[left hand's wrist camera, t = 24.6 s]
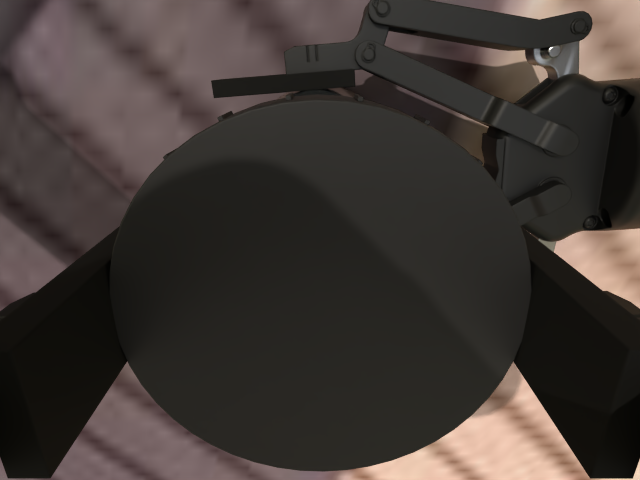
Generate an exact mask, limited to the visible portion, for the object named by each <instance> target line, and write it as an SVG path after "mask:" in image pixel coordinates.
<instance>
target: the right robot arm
mask: <svg viewBox="0 0 640 480" xmlns="http://www.w3.org/2000/svg"><path fill="white" fill-rule="evenodd" d="M591 28H592V18H591V17H590V15H589V14H588V13H586V12H584V11H578V12H573V13H569V14H564V15H559V16H555V17H550V18H545V19H541V20H538V19H532V18H526V17H521V16H515V15H509V14H504V13H498V12H492V11H487V10H481V9H475V8H470V7H464V6H458V5H452V4H447V3H441V2H435V1H430V0H370V2H369V3H368V4H367V6H366V7H365V10H364V14H363V18H362V21H361V25H360V29H359V32H358V34H357V36H356V37H355V38H354V39H353V40H351V41H349V42H342V43H330V44H318V45H306V46H294V47H293V48H291V49H289V50H287V51H285V52H284V57H285V67H286V74H282V75H269V76H257V77H245V78H233V79H221V80H213V81H211V82H212V89H213V95H214V98H220V97H232V96H245V95H257V94H269V93H282V92H294V91H307V90H319V89H331V88H344V87H355V71H354V70H359V69H362V70H365V71H367V72H369V73H371V74H373V75H376V76H378V77H380V78H382V79H385V80H387V81H389V82H391V83H393V84H396V85H398V86H400V87H402V88H405V89H407V90H409V91H411V92H413V93H416V94H418V95H420V96H422V97H425V98H427V99H429V100H431V101H434V102H436V103H438V104H440V105H442V106H445V107H447V108H449V109H451V110H454V111H456V112H458V113H460V114H462V115H465V116H467V117H468V118H471V119H473V120H475V121H477V122H479V123H482V124H484V125H486V126H488V127H489V128H488V130H487V133H483V135H482V151H483V156H484V161H485V163H484V166H483V167H484V168H485V169H486V170H487V171H488V173H489V174H490V175H491V176H492V178H493V179H494V180H495V182H496V183H497V184H498V185H499V187H500V188H501V189H502V191H503V192H504V194H505V196H506V198H507V199H508V201H509V203H510V205H511V207H512V208H513V210H514V212H515V214H516V216H517V218H518V221H519V224H520V226H521V227H522V228H524V229H525V230H526V231H528V232H529V233H531V235H532V236H534V237H535V238H536V239H538V240H539V241H540V242H541V243H543V244H544V245H545V246H546V247H548V248H549V249H550V250H551V251H553V252H554V248H555V244H556V241H560V240H562V239H564V238H566V237H568V236H570V235H572V234H574V233H577V232H580V231H609V230H623V229H637V228H640V78H635V79H622V80H610V81H593V80H591V79H589V78H587V77H585V76H583V75H581V74H579V41H580V40H582V39H584V38H585V37H586V36H587V35H588V34H589V32H590V31H591ZM388 31H393V32H398V33H404V34H410V35H416V36H422V37H428V38H434V39H439V40H445V41H451V42H457V43H463V44H469V45H475V46H480V47H486V48H492V49H498V50H507V51H515V50H525V56H526V59H527V61H528V62H529V63H530V64H532V65H537V66H542V67H544V68H545V69H546V71H547V73H548V78H547V79H545V80H544V81H543V82H541V83H540V84H539V85H537V86H536V87H535V88H534V89H532V90H531V91H530V92H528V93H527V94H526V95H525V96H523V97H522V98H521V99H519V100H518V101H517V102H516V103H514V104H512V103H510V102H508V101H506V100H503V99H500V98H498V97H495V96H493V95H490V94H488V93H486V92H484V91H482V90H479V89H477V88H475V87H473V86H471V85H469V84H466V83H464V82H462V81H460V80H458V79H456V78H453V77H451V76H449V75H447V74H445V73H443V72H440V71H438V70H436V69H434V68H432V67H430V66H427V65H425V64H423V63H421V62H419V61H417V60H414V59H412V58H410V57H408V56H406V55H404V54H401V53H399V52H397V51H395V50H393V49H391V48H388V47H386V46H384V44H385V40H386V37H387V34H388Z"/></svg>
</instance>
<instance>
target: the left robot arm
mask: <svg viewBox="0 0 640 480" xmlns="http://www.w3.org/2000/svg"><path fill="white" fill-rule="evenodd" d="M520 227H521V226H520ZM119 228H120V226H119V227H118V228H117V229H116V230H114V231H113V232H112V233H111V234H109V235H108V236H107V237H106V238H104V239H103V240H102V241H100V242H99V243H98V244H97V245H95V246H94V247H93V248H92V249H90V250H89V251H88V252H87V253H85V254H84V255H83V256H81V257H80V258H79V259H78V260H76V261H75V262H74V263H73V264H71V265H70V266H69V267H68V268H66V269H65V270H64V271H63V272H61V273H60V274H59V275H57V276H56V277H55V278H54V279H52V280H51V281H50V282H49V283H47V284H46V285H45V286H44V287H42V288H41V289H40V290H39V291H37V292H36V293H32V294H30V295H28V296H26V297H23V298H21V299H19V300H17V301H15V302H13V303H11V304H9V305H8V306H7V307H5V308H4V309H3V310H1V311H0V457H1V460H2V463H3V466H4V469H5V471H6V474H7V477H8V478H51V476H52V475H53V473H54V472H55V470H56V469H57V467H58V466H59V464H60V463H61V461H62V460H63V458H64V457H65V455H66V454H67V452H68V451H69V449H70V447H71V446H72V444H73V443H74V441H75V440H76V438H77V437H78V435H79V434H80V432H81V431H82V429H83V428H84V426H85V425H86V423H87V422H88V420H89V419H90V417H91V416H92V414H93V412H94V411H95V409H96V408H97V406H98V405H99V403H100V402H101V400H102V399H103V397H104V396H105V394H106V393H107V391H108V390H109V388H110V387H111V385H112V384H113V382H114V381H115V379H116V377H117V376H118V374H119V373H120V371H121V370H122V368H123V367H124V365H125V364H126V362H127V359H126V357H125V355H124V352H123V350H122V348H121V346H120V343H119V339H118V335H117V330H116V325H115V320H114V315H113V310H112V305H111V299H110V293H109V272H110V265H111V259H112V252H113V247H114V243H115V240H116V237H117V234H118V231H119ZM521 229H522V232H523V235H524V237H525V240H526V245H527V250H528V255H529V260H530V266H531V287H532V292H531V297H530V303H529V308H528V313H527V318H526V323H525V328H524V333H523V338H522V342H521V344H520V347H519V349H518V352H517V354H516V356H515V359H514V363H515V365H516V366H517V368H518V369H519V371H520V372H521V374H522V375H523V377H524V378H525V380H526V381H527V383H528V384H529V386H530V387H531V389H532V390H533V392H534V393H535V395H536V396H537V398H538V400H539V401H540V403H541V404H542V406H543V407H544V409H545V410H546V412H547V413H548V415H549V416H550V418H551V419H552V421H553V422H554V424H555V425H556V427H557V428H558V430H559V431H560V433H561V435H562V436H563V438H564V439H565V441H566V442H567V444H568V445H569V447H570V448H571V450H572V451H573V453H574V454H575V456H576V457H577V459H578V460H579V462H580V463H581V465H582V466H583V468H584V470H585V471H586V473H587V474H588V476H589V477H590V478H633V476H634V473H635V470H636V468H637V465H638V462H639V459H640V309H639V308H638V307H636V306H635V305H634V304H633V303H631V302H629V301H627V300H625V299H623V298H621V297H619V296H617V295H614V294H612V293H610V292H608V291H602V290H601V289H600V288H598V287H597V286H596V285H594V284H593V283H592V282H591V281H589V280H588V279H587V278H586V277H584V276H583V275H582V274H581V273H579V272H578V271H577V270H576V269H574V268H573V267H572V266H570V265H569V264H568V263H567V262H565V261H564V260H563V259H562V258H560V257H559V256H558V255H557V254H555V253H554V252H553V251H551V250H550V249H549V248H548V247H546V246H545V245H544V244H543V243H541V242H540V241H539V240H538V239H536V238H535V237H534V236H532V235H531V234H530V233H529V232H527V231H526V230H525V229H524V228H522V227H521Z"/></svg>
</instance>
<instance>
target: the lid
mask: <svg viewBox="0 0 640 480" xmlns="http://www.w3.org/2000/svg"><path fill="white" fill-rule="evenodd" d="M285 97H286V98H282V99H277V100H273V101H269V102H264V103H260V104H258V105H255V106H252V107H250V108H247V109H245V110H242V111H239V112H237V113H234V114H233V113H232V111H230V112H228V113H226V114H224V115H222V116H220V117H218V120H219V122H218V123H216V124H214V125H212V126H210V127H209V128H207V129H205V130H203V131H201V132H200V133H198V134H196V135H194V136H193V137H192V138H190V139H189V140H188V141H186V142H185V143H184V144H182V145H181V146H180V147H179V148H177V149H175V150H173V151H171V152H170V153H168V154H166V155H165V156H164V157H163V158H164V159H165V160H164V161H163V162H162V163H161V164H160V165H159V166H158V167H157V168H156V169H155V170H154V171H153V172H152V173H151V174H150V175H149V177H148V178H147V179H146V181H145V182H144V184H143V185H142V187H141V188H140V189H139V191H138V192H137V194H136V195H135V196H134V198H133V200H132V202H131V204H130V206H129V208H128V210H127V212H126V214H125V216H124V218H123V220H122V222H121V225H120V228H119V231H118V234H117V237H116V240H115V243H114V247H113V252H112V259H111V265H110V272H109V293H110V299H111V305H112V310H113V315H114V320H115V325H116V330H117V335H118V339H119V343H120V346H121V348H122V350H123V352H124V355H125V357H126V359H127V361H128V363H129V366H130V367H131V369H132V370H133V372H134V373H135V375H136V377H137V378H138V380H139V381H140V383H141V385H142V386H143V387H144V388H145V390H146V391H147V392H148V393H149V394H150V396H151V397H152V398H153V399H154V401H155V402H156V403H157V404H158V405H159V406H160V407H161V408H162V409H163V410H164V411H165V412H166V413H167V414H169V415H170V416H171V417H172V418H173V419H174V420H175V421H176V422H178V423H179V424H180V425H182V426H183V427H184V428H186V429H187V430H188V431H190V432H191V433H192V434H194V435H196V436H197V437H199V438H201V439H203V440H204V441H206V442H208V443H209V444H211V445H213V446H215V447H217V448H219V449H221V450H224V451H226V452H228V453H230V454H232V455H235V456H238V457H241V458H244V459H247V460H250V461H253V462H256V463H260V464H264V465H269V466H273V467H277V468H285V469H292V470H300V471H338V470H350V469H356V468H362V467H368V466H373V465H376V464H380V463H384V462H388V461H392V460H394V459H397V458H400V457H402V456H405V455H408V454H410V453H413V452H415V451H417V450H419V449H421V448H423V447H425V446H427V445H429V444H431V443H433V442H435V441H437V440H438V439H440V438H441V437H443V436H445V435H446V434H448V433H449V432H451V431H452V430H454V429H455V428H457V427H458V426H459V425H460V424H461V423H463V422H464V421H465V420H466V419H468V418H469V417H470V416H471V415H473V413H474V412H475V411H476V410H477V409H478V408H479V407H480V406H481V405H482V404H483V403H484V402H485V401H486V400H487V399H488V398H489V397H490V396H491V394H492V393H493V392H494V390H495V389H496V388H497V386H498V385H499V384H500V382H501V381H502V380H503V378H504V376H505V375H506V373H507V371H508V369H509V368H510V366H511V364H512V363H513V361H514V359H515V356H516V354H517V352H518V349H519V347H520V344H521V342H522V338H523V333H524V328H525V323H526V318H527V313H528V308H529V303H530V297H531V292H532V287H531V266H530V260H529V255H528V250H527V245H526V240H525V237H524V235H523V232H522V229H521V227H520V224H519V221H518V218H517V216H516V214H515V212H514V210H513V208H512V207H511V205H510V203H509V201H508V199H507V198H506V196H505V194H504V192H503V191H502V189H501V188H500V187H499V185H498V184H497V183H496V182H495V180H494V179H493V178H492V176H491V175H490V174H489V173H488V171H487V170H486V169H485V168H484V167H483V166H482V164H483V163H482V162H481V161H480V160H479V159H477V158H475V157H474V156H472V155H470V154H469V153H468V152H467V151H466V150H465V149H464V148H463V147H461V146H460V145H458V144H457V143H456V142H454V141H453V140H451V139H450V138H448V137H447V136H446V135H444V134H443V133H441V132H440V131H438V130H436V129H434V128H433V127H431V126H429V124H430V121H429V120H427V119H425V118H423V117H421V116H419V115H415V117H414V118H413V117H411V116H409V115H407V114H405V113H403V112H401V111H399V110H397V109H394V108H391V107H388V106H385V105H382V104H379V103H376V102H373V101H369V100H364V97H362V96H361V95H359V94H355V95H354V98H353V97H348V96H337V95H305V96H294V93H289V94H287V95H286V96H285Z"/></svg>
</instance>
